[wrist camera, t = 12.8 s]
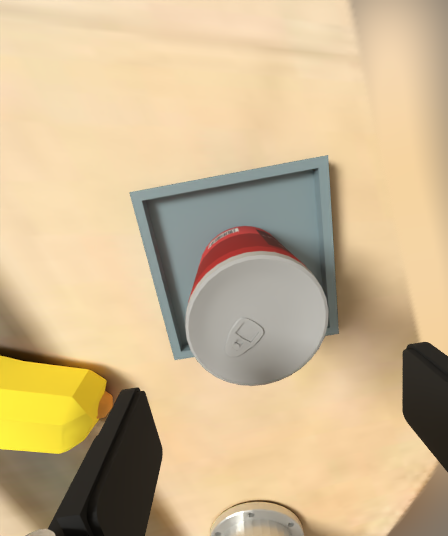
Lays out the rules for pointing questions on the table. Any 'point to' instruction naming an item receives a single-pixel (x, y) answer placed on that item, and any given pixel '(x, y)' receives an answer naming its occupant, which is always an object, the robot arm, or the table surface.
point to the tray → (229, 216)
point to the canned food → (254, 309)
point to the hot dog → (48, 405)
